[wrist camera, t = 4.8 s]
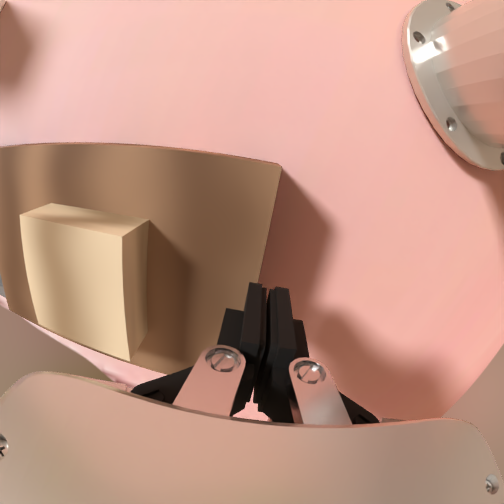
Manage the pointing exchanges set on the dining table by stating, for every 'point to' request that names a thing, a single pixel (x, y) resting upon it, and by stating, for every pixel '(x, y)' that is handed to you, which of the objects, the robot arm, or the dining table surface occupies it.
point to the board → (152, 230)
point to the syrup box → (2, 4)
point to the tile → (88, 275)
